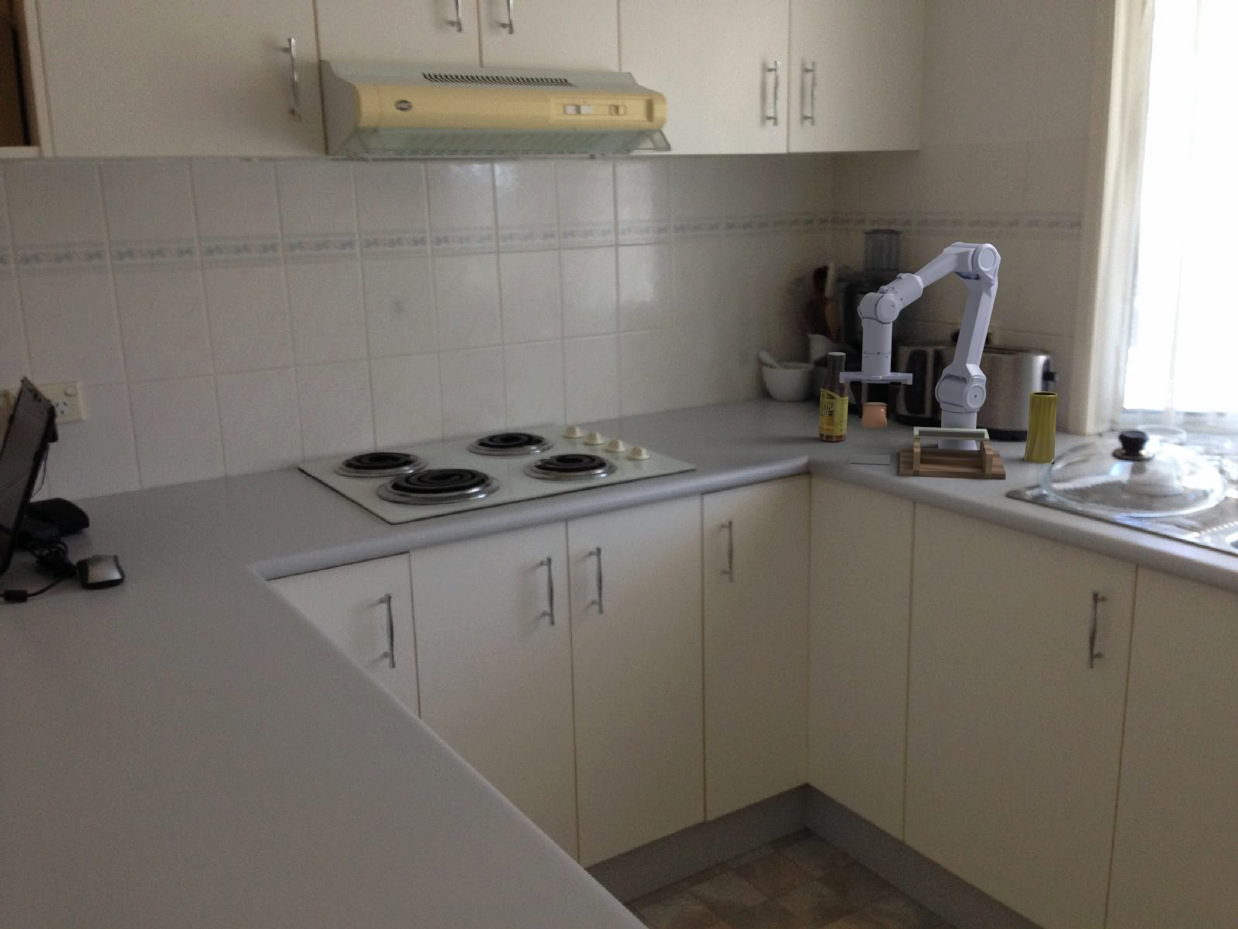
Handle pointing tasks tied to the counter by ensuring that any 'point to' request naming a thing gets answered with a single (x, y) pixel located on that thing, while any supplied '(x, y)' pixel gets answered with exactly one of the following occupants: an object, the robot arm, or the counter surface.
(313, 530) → the counter surface
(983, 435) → the cover
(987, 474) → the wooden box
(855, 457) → the coaster
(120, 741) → the counter surface
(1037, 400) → the vase
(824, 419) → the sauce bottle
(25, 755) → the counter surface
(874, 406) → the tan rounded cylinder
